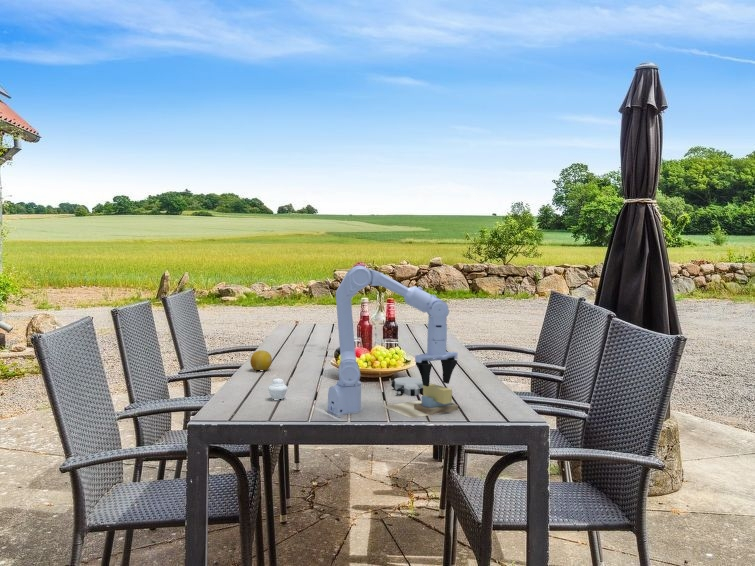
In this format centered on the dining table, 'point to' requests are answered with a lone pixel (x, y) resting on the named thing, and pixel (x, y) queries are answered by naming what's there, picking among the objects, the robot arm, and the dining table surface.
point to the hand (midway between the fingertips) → (436, 384)
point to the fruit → (261, 360)
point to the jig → (419, 409)
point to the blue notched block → (431, 402)
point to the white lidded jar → (277, 389)
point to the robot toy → (407, 385)
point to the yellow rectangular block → (438, 393)
